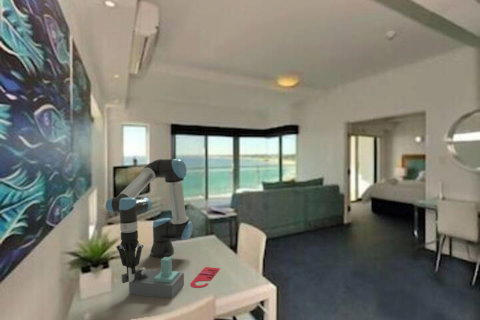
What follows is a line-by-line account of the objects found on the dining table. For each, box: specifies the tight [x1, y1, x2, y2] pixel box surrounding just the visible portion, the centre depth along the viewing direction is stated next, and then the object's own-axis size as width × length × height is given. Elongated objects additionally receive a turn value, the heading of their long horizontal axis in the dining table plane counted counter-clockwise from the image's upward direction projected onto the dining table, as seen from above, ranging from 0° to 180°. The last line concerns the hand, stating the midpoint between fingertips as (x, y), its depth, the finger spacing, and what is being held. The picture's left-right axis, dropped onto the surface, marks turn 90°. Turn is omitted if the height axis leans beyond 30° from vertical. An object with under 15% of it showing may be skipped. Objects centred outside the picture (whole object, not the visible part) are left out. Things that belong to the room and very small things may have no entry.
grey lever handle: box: [121, 266, 147, 284], centre depth 135 cm, size 12×3×4 cm, turn 134°
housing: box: [128, 269, 185, 299], centre depth 138 cm, size 14×22×6 cm, turn 79°
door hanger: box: [190, 266, 221, 289], centre depth 151 cm, size 9×1×25 cm
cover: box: [154, 256, 180, 283], centre depth 137 cm, size 9×9×10 cm
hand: (131, 280), depth 132 cm, fingers closed
